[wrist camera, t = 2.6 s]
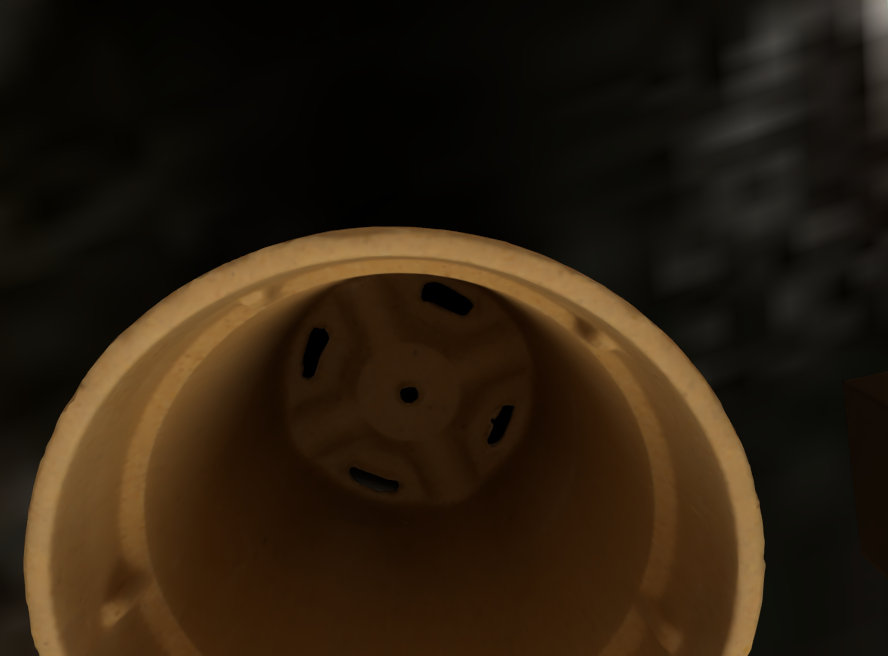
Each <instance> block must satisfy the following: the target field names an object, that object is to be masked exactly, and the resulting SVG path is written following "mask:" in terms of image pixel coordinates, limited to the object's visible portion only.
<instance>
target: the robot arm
mask: <svg viewBox="0 0 888 656" xmlns="http://www.w3.org/2000/svg"><path fill="white" fill-rule="evenodd" d="M842 383H843V392H844V401H845V410H846V420H847V429H848V438H849V447H850V457H851V466H852V475H853V484H854V493H855V503H856V512H857V521H858V530H859V539H860V549H861V555H863V556H864V557H865V558H866V559H867V560H868V561H869V562H870V563H871V564H872V565H873V566H874V567H875V568H876V569H878V570H879V571H880V572H881V573H882V574H883V575H884V576H885V577H886V578H887V579H888V372H884V373H879V374H874V375H870V376H865V377H860V378H856V379H851V380H847V381H842Z"/></svg>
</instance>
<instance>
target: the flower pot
mask: <svg viewBox="0 0 888 656" xmlns="http://www.w3.org/2000/svg"><path fill="white" fill-rule="evenodd" d="M431 282H438V283H441V284H443V285H445V286H447V287H449V288H451V289H452V290H454V291H456V292H457V293H458V294H460V295H462V296H464V297H466V298H467V299H468V300H470V301H471V303H472V304H473V307H472V308H471V309H470V311H469V312H468V314H466V315H458V314H456V313H454V312H452V311H450V310H447V309H444V308H443V307H441V306H439V305H437V304H434V303H431V302H428V301H426V302H425V301H423V300H422V298H421V295H422V289H423V287H424V285H425V284H427V283H431ZM315 327H316V328H320V329H323V328H324V329H325V330H326V332H327V333H328V335H329V341H328V343H327V345H326V346H325V348H324V350H323V351H322V353H321V355H320V357H319V361H318V364H317V368H316V371H315V374H314V376H313V377H311V378H306V377H304V376H303V371H304V365H303V358H304V354H305V350H306V346H307V343H308V340H309V336H310V333H311V331H312V330H313V328H315ZM408 387H415V388H416V390H417V392H418V398H417V399H416V400H415V401H413V402H404V401H403V400H402V398H401V396H400V391H401V390H402V389H404V388H408ZM505 405H512V406H513V407H514V408H513V410H512V414H511V418H510V421H509V423H508V425H507V427H506V430H505V432H504V434H503V436H502V437H501V438H500V439H499V440H498V441H497V442H496V443H494V444H488V442H487V439H488V437H489V436H490V433H491V430H492V429H493V423H491V419H492V418H493V420H495V418H496V417H497V416H498V415H499V412H500V411H501V410H502V406H505ZM352 467H356V468H358V469H360V470H363V471H365V472H368V473H371V474H374V475H377V476H379V477H382V478H384V479H388V480H395V481H397V482H398V483H399V487H398V489H397V490H396V491H378V490H374V489H372V488H370V487H365V486H363V485H361V484H359V483H358V482H356V481H355V480H354V478H353V477H351V475H350V473H349V470H350V468H352ZM764 543H765V541H764V536H763V524H762V517H761V513H760V505H759V500H758V497H757V494H756V492H755V489H754V481H753V477H752V473H751V469H750V465H749V463H748V460H747V457H746V454H745V452H744V449H743V446H742V444H741V442H740V440H739V438H738V436H737V434H736V432H735V430H734V428H733V426H732V424H731V422H730V421H729V419H728V417H727V415H726V414H725V412H724V410H723V407H722V405H721V403H720V401H719V399H718V398H717V396H716V395H715V393H714V392H713V390H712V389H711V387H710V386H709V384H708V383H707V382H706V380H705V379H704V377H703V376H702V375H701V373H700V372H699V371H698V370H697V369H696V367H695V366H694V365H693V364H692V362H691V361H690V360H689V359H688V358H687V356H686V355H685V354H684V353H683V352H682V350H681V349H680V348H679V347H678V346H677V345H676V344H675V343H674V342H673V341H672V339H670V338H669V337H668V336H667V335H666V334H665V333H664V332H663V331H662V330H661V329H659V328H658V327H657V326H656V325H655V324H654V323H653V322H651V321H650V320H649V319H648V318H647V317H645V316H644V315H643V314H642V313H641V312H639V311H638V310H637V309H636V308H635V307H633V306H632V305H631V304H630V303H628V302H627V301H625V300H624V299H622V298H621V297H619V296H618V295H616V294H615V293H613V292H611V291H610V290H608V289H607V288H606V287H605V286H603V285H601V284H599V283H597V282H596V281H594V280H592V279H590V278H589V277H587V276H585V275H583V274H581V273H579V272H577V271H576V270H574V269H572V268H570V267H568V266H565V265H563V264H561V263H559V262H557V261H555V260H553V259H550V258H548V257H546V256H544V255H541V254H539V253H536V252H533V251H530V250H527V249H524V248H522V247H519V246H516V245H513V244H510V243H507V242H505V241H500V240H495V239H491V238H486V237H481V236H477V235H472V234H466V233H460V232H455V231H448V230H437V229H428V228H418V227H364V228H352V229H344V230H336V231H329V232H324V233H319V234H314V235H310V236H306V237H302V238H297V239H294V240H290V241H287V242H283V243H280V244H276V245H273V246H269V247H266V248H263V249H260V250H258V251H255V252H252V253H250V254H248V255H245V256H243V257H240V258H238V259H236V260H233V261H231V262H228V263H225V264H223V265H221V266H220V267H218V268H216V269H213V270H211V271H209V272H207V273H205V274H204V275H202V276H200V277H198V278H196V279H194V280H192V281H191V282H189V283H188V284H186V285H184V286H183V287H181V288H179V289H178V290H176V291H174V292H173V293H171V294H170V295H169V296H167V297H166V298H164V299H163V300H162V301H160V302H159V303H158V304H156V305H155V306H154V307H152V308H151V309H150V310H149V311H147V312H146V313H145V314H144V315H143V316H141V317H140V318H139V319H138V320H137V321H136V322H135V323H134V324H132V325H131V326H130V327H129V328H128V329H127V330H125V331H124V332H123V333H121V334H120V335H119V336H118V337H117V338H116V339H115V340H114V341H113V343H112V344H111V345H110V346H109V347H108V348H107V349H106V351H105V352H104V353H103V354H102V355H101V357H100V358H99V359H98V360H97V361H96V363H95V364H94V365H93V367H92V368H91V369H90V370H89V372H88V374H87V375H86V376H85V378H84V379H83V380H82V382H81V384H80V385H79V387H78V389H77V391H76V393H75V394H74V396H73V398H72V399H71V400H70V402H69V403H68V404H67V406H66V407H65V409H64V410H63V412H62V414H61V416H60V418H59V420H58V422H57V424H56V428H55V431H54V433H53V435H52V438H51V439H50V441H49V443H48V445H47V446H46V452H45V454H44V456H43V458H42V460H41V463H40V466H39V469H38V473H37V476H36V480H35V483H34V487H33V493H32V498H31V502H30V506H29V510H28V522H27V527H26V536H25V548H24V562H23V563H24V578H25V591H26V602H27V604H28V608H29V616H30V625H31V633H32V636H33V639H34V643H35V647H36V648H37V650H38V652H39V654H40V656H747V655H748V654H749V652H750V650H751V647H752V642H753V638H754V634H755V630H756V626H757V622H758V618H759V613H760V609H761V604H762V597H763V582H764V572H765V567H766V565H765V562H764V559H763V555H764Z"/></svg>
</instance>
